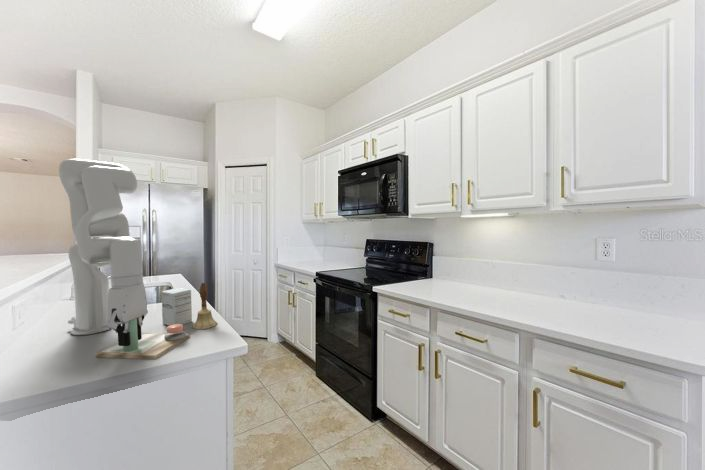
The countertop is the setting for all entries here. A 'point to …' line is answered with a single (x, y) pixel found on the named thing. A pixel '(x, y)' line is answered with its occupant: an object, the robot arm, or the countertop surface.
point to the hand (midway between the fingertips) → (130, 341)
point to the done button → (174, 328)
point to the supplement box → (176, 306)
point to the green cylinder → (132, 336)
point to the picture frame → (147, 346)
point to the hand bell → (204, 312)
